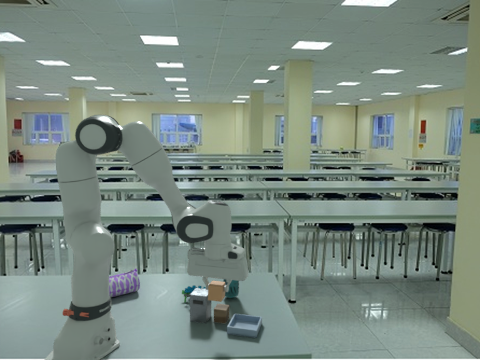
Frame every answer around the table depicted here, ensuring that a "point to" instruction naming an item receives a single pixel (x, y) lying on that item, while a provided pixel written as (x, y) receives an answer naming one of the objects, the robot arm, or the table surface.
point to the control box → (200, 306)
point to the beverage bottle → (232, 289)
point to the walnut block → (221, 313)
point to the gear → (189, 291)
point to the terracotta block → (216, 291)
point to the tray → (244, 325)
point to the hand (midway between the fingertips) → (217, 290)
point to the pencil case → (124, 283)
